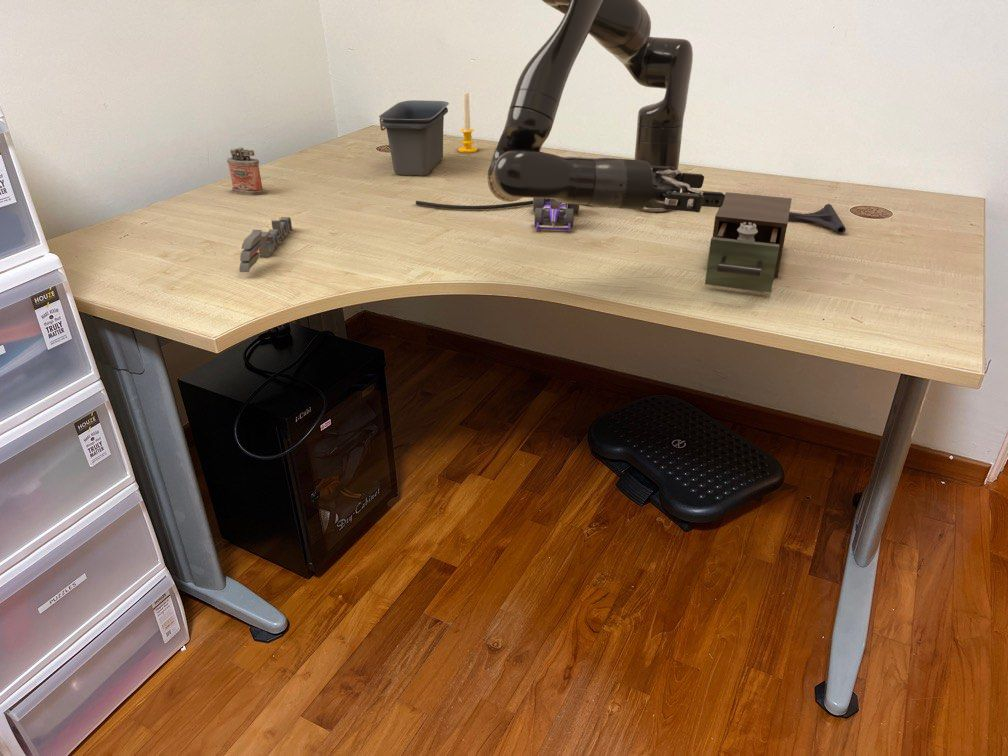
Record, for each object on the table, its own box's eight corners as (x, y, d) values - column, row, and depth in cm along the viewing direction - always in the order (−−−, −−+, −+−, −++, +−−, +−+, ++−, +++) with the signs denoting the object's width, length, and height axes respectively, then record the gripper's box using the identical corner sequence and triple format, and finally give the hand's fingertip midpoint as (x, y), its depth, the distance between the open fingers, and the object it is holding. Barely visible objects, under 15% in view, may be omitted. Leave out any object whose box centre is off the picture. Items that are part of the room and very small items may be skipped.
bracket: (757, 208, 162) (759, 195, 161) (831, 211, 160) (833, 198, 158) (764, 231, 150) (767, 217, 149) (844, 235, 148) (847, 221, 146)
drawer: (768, 305, 118) (777, 257, 114) (700, 296, 121) (706, 249, 117) (776, 263, 133) (784, 220, 129) (715, 256, 136) (721, 213, 132)
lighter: (229, 192, 176) (221, 148, 171) (239, 188, 179) (231, 145, 174) (258, 195, 174) (250, 151, 168) (267, 191, 176) (259, 148, 171)
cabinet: (777, 278, 130) (787, 223, 125) (708, 269, 133) (715, 216, 128) (782, 249, 141) (791, 198, 137) (718, 241, 145) (725, 192, 140)
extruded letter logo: (249, 278, 132) (243, 247, 129) (240, 278, 132) (234, 247, 129) (292, 229, 153) (288, 202, 150) (284, 229, 153) (280, 202, 150)
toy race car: (528, 231, 151) (529, 199, 147) (534, 208, 164) (534, 178, 160) (577, 233, 150) (578, 200, 147) (579, 209, 163) (580, 179, 159)
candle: (456, 152, 206) (454, 92, 198) (460, 148, 210) (458, 88, 203) (475, 153, 205) (473, 92, 197) (479, 148, 210) (477, 88, 202)
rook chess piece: (723, 266, 129) (730, 220, 125) (749, 265, 129) (756, 219, 125) (732, 276, 125) (739, 229, 121) (759, 275, 125) (767, 228, 121)
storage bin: (434, 179, 183) (430, 118, 176) (372, 177, 186) (366, 116, 179) (454, 157, 201) (452, 101, 194) (398, 155, 204) (393, 99, 197)
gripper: (635, 175, 111) (737, 182, 114) (608, 145, 122) (701, 153, 126) (624, 223, 115) (723, 229, 118) (599, 190, 126) (690, 197, 130)
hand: (712, 190), depth 122 cm, fingers open, 8 cm apart
